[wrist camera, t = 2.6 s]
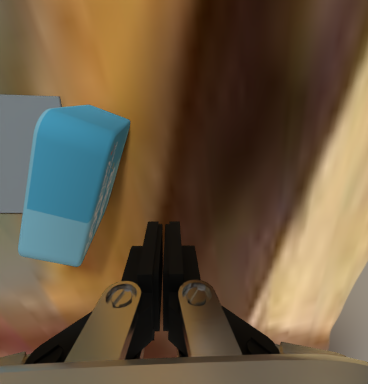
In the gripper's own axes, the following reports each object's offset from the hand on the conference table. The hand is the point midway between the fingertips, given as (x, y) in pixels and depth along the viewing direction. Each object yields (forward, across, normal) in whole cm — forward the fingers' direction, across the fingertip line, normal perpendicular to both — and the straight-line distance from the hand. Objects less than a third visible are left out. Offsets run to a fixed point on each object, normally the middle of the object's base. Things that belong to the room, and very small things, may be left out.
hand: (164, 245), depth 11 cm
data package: (+16, +8, -1) cm, 18 cm away
